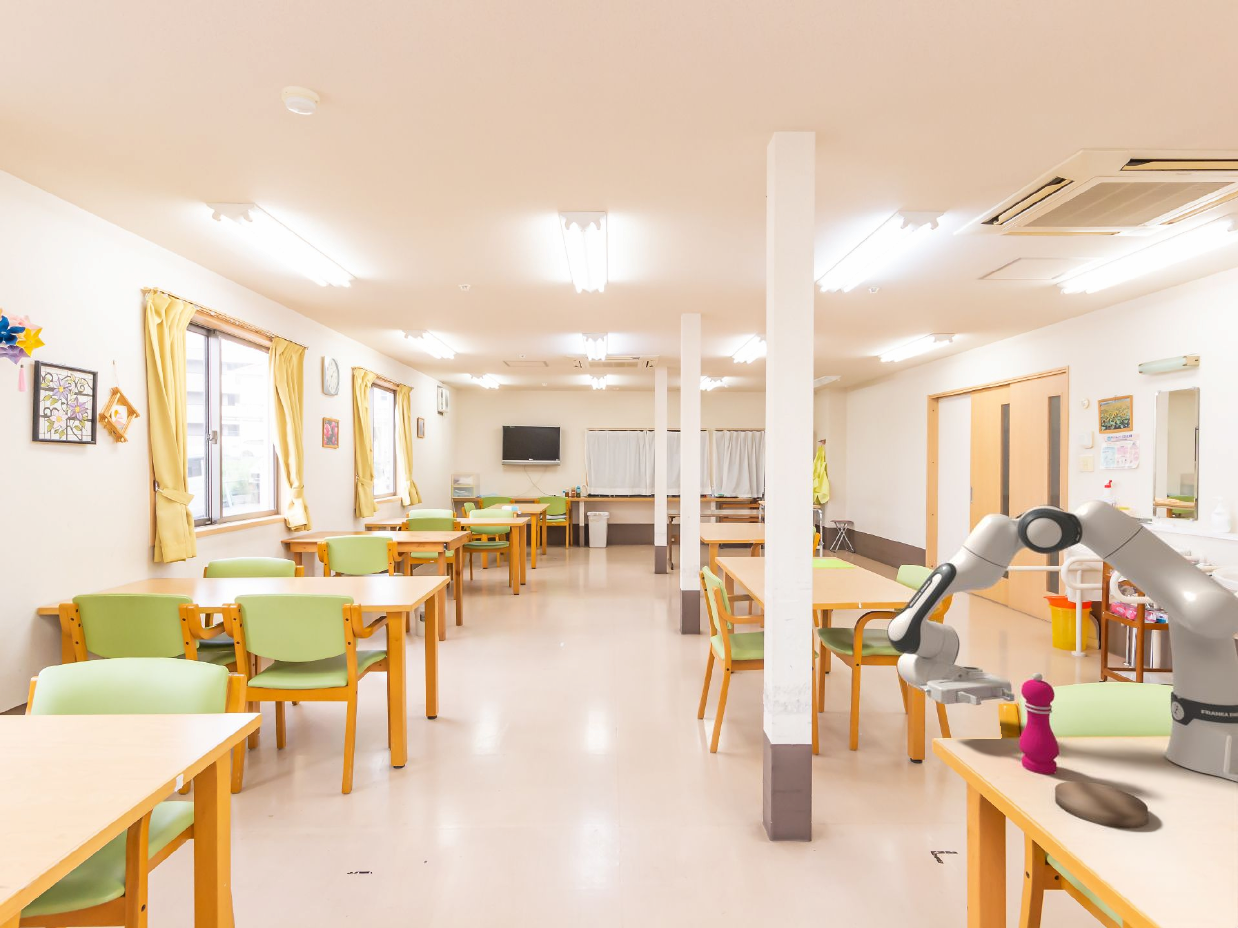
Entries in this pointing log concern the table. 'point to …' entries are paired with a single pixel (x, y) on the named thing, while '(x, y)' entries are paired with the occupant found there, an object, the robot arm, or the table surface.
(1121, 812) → the walnut board
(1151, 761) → the table surface
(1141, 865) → the table surface
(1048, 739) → the pepper mill
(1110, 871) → the table surface
